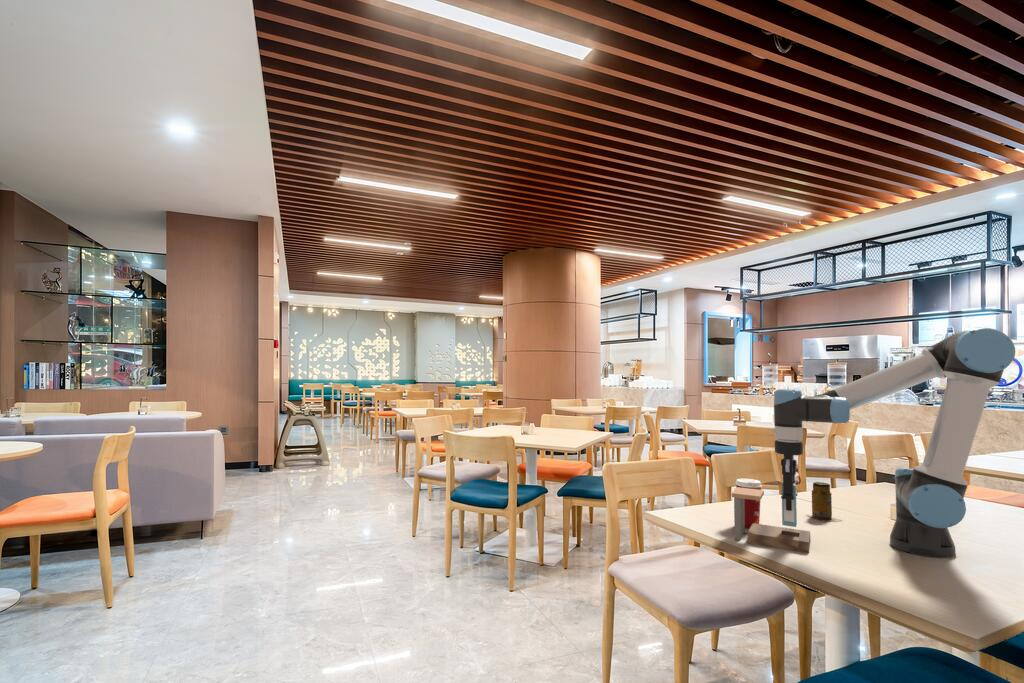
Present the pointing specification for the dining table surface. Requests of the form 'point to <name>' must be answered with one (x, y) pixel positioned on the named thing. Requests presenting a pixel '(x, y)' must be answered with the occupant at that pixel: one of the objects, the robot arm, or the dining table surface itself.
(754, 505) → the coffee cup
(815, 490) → the condiment
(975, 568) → the dining table surface
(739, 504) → the toy block arch
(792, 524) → the peg
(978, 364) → the robot arm
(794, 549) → the socket block
